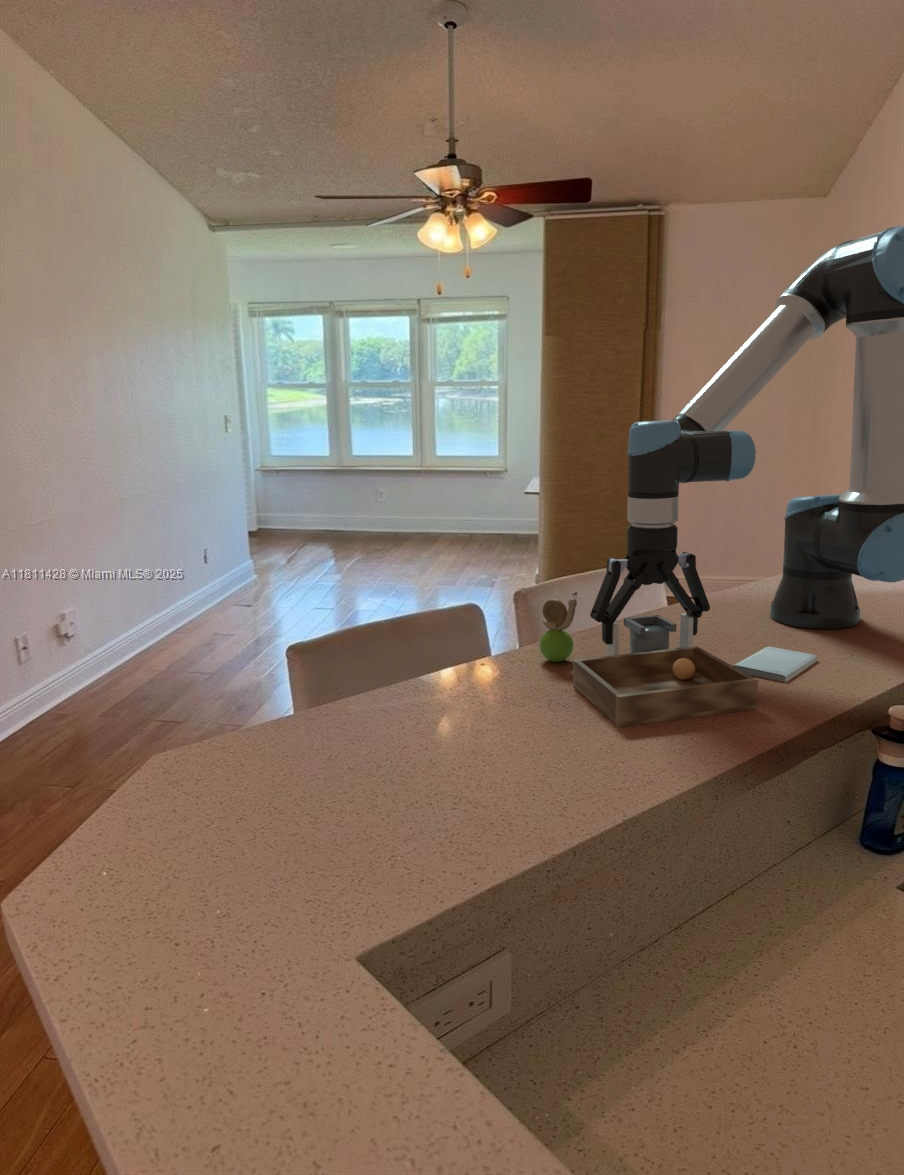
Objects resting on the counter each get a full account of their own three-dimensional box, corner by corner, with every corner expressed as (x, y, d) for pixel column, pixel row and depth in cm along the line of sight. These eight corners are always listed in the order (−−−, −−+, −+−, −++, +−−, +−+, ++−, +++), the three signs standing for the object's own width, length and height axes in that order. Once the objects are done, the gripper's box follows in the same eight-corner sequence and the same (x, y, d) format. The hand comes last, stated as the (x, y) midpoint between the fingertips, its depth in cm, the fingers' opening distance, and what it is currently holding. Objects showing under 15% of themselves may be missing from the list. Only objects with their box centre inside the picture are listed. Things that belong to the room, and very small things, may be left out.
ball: (694, 653, 117) (702, 673, 115) (684, 660, 119) (691, 680, 118) (675, 656, 116) (683, 677, 114) (665, 664, 119) (673, 684, 117)
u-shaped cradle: (657, 657, 130) (658, 614, 128) (675, 668, 124) (676, 624, 122) (623, 660, 129) (623, 618, 127) (639, 672, 123) (640, 627, 121)
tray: (695, 671, 122) (696, 646, 121) (756, 708, 107) (757, 680, 106) (573, 686, 118) (573, 659, 117) (618, 726, 103) (618, 697, 102)
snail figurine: (568, 669, 125) (568, 595, 123) (533, 662, 129) (532, 591, 126) (584, 660, 130) (584, 588, 127) (550, 653, 133) (549, 584, 131)
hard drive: (786, 675, 116) (817, 654, 125) (732, 664, 121) (766, 644, 130) (785, 686, 116) (817, 664, 125) (731, 674, 122) (765, 654, 130)
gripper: (710, 515, 127) (706, 644, 132) (568, 525, 122) (569, 659, 127) (737, 521, 120) (731, 658, 125) (587, 533, 115) (587, 674, 120)
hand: (649, 658), depth 126 cm, fingers open, 12 cm apart
